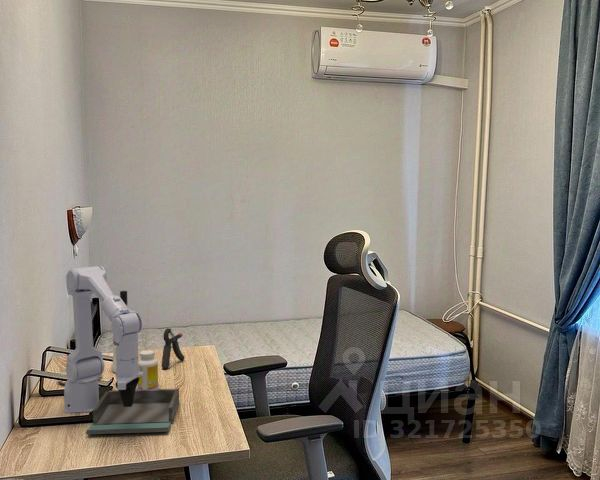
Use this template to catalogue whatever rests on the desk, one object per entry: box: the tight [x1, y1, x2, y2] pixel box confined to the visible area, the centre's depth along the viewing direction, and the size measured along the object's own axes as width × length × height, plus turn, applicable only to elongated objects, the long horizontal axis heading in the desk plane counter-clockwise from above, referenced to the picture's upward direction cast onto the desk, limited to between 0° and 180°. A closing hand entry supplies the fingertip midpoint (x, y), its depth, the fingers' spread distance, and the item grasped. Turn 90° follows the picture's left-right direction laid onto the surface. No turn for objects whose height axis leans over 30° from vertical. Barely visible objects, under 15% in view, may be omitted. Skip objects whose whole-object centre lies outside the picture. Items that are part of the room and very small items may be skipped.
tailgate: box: [85, 423, 172, 435], centre depth 147 cm, size 22×1×6 cm
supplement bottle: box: [137, 349, 159, 390], centre depth 179 cm, size 7×7×13 cm
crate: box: [92, 388, 180, 425], centre depth 159 cm, size 22×15×5 cm
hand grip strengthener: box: [161, 327, 185, 371], centre depth 204 cm, size 2×12×15 cm, turn 158°
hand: (128, 405), depth 146 cm, fingers closed
